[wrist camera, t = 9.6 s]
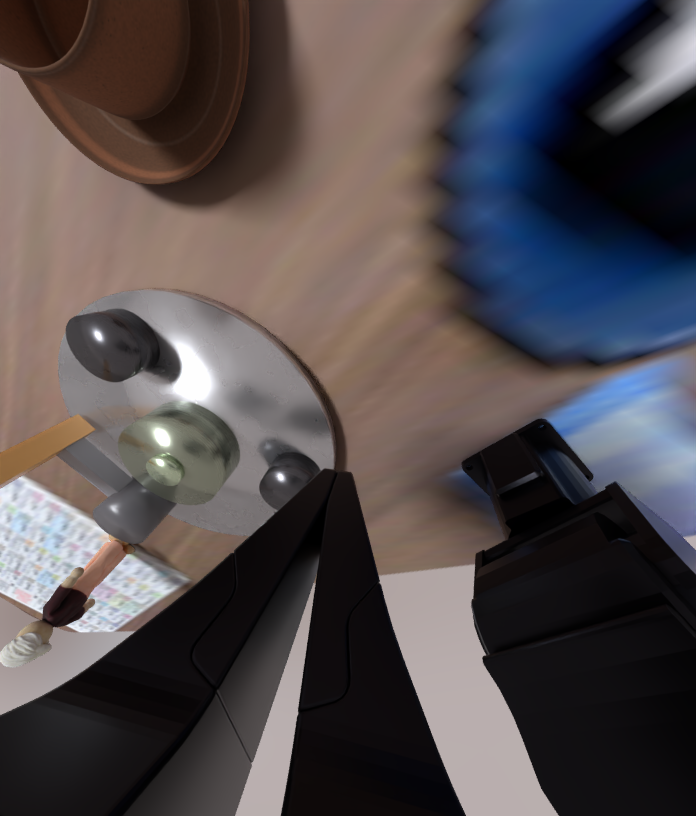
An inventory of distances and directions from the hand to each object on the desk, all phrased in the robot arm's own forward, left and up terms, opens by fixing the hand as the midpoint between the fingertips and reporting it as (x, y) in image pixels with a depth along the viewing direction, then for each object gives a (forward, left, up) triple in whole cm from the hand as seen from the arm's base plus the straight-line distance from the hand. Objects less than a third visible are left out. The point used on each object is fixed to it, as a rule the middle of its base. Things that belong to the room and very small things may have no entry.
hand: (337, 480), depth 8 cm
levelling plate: (+5, +16, -12) cm, 21 cm away
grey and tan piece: (+8, +24, -11) cm, 28 cm away
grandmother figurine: (+4, +42, -12) cm, 44 cm away
